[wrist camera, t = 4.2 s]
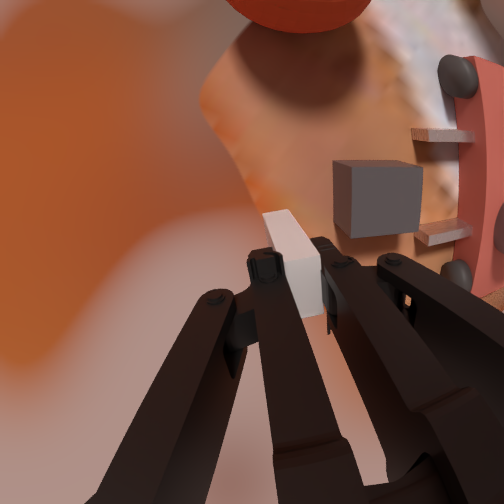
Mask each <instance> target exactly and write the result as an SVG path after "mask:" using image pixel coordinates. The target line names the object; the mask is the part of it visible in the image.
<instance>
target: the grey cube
mask: <svg viewBox="0 0 504 504" xmlns="http://www.w3.org/2000/svg"><path fill="white" fill-rule="evenodd" d="M422 185H423V167H419V166H416V165H412V164H409V163H405V162H401V161H397V160H336V161H333V208H334V215H333V222H334V223H336V224H337V225H338V226H339V227H340V228H341V229H342V230H343V231H344V232H345V233H346V234H347V235H348V236H349V238H350V239H353V238H362V237H372V236H382V235H391V234H401V233H411V232H418V231H419V222H420V212H421V200H422Z"/></svg>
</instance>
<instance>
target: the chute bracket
mask: <svg viewBox="0 0 504 504" xmlns="http://www.w3.org/2000/svg"><path fill="white" fill-rule="evenodd" d="M411 130H412V139H413V140H420V141H427V142H474V143H475V132H473V131H466V130H458V129H437V128H411ZM472 228H473V226H472V225H470V224H468V223H466V222H464V221H463V220H461V219H459V218H454V219H449V220H444V221H439V222H433V223H428V224H423V225H419V231H418V232H414V236H415V237H416V238H417V239H419V240H420V241H422V242H423V243H424V244H426V245H427V246H432V245H437V244H441V243H445V242H449V241H453V240H457V239H461V238H465V237H469V236H472Z"/></svg>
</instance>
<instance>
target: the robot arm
mask: <svg viewBox="0 0 504 504" xmlns="http://www.w3.org/2000/svg"><path fill="white" fill-rule="evenodd" d="M263 220H264V226H265V231H266V237H267V243H268V247H267V248H263V249H257V250H252V251H251V252H250V254H249V255H248V259H247V267H248V272H249V276H250V281H251V284H250V286H249V287H248V288H247V289H246V290H244V291H243V292H241V293H238V294H236V295H234V294H233V293H232V291H230V290H228V289H214V290H210V291H208V292H206V293H205V294H203V295H202V296H201V297H200V298H199V300H198V301H197V303H196V305H195V306H194V308H193V310H192V312H191V314H190V315H189V317H188V319H187V321H186V322H185V324H184V326H183V328H182V330H181V332H180V333H179V335H178V337H177V339H176V341H175V343H174V344H173V346H172V348H171V350H170V351H169V353H168V355H167V357H166V359H165V361H164V362H163V364H162V366H161V368H160V370H159V372H158V373H157V375H156V377H155V379H154V381H153V383H152V385H151V387H150V388H149V390H148V392H147V394H146V396H145V398H144V400H143V402H142V403H141V405H140V407H139V409H138V411H137V413H136V415H135V417H134V419H133V421H132V423H131V425H130V426H129V428H128V430H127V432H126V434H125V436H124V438H123V440H122V442H121V444H120V446H119V448H118V450H117V452H116V454H115V456H114V458H113V460H112V462H111V464H110V466H109V468H108V470H107V472H106V474H105V476H104V478H103V480H102V482H101V484H100V486H99V488H98V490H97V492H96V493H95V494H94V495H93V496H92V497H91V498H90V499H89V500H88V501H87V502H86V503H85V504H205V501H206V498H207V494H208V491H209V488H210V484H211V481H212V477H213V474H214V471H215V467H216V464H217V461H218V457H219V454H220V450H221V446H222V443H223V439H224V436H225V432H226V429H227V425H228V422H229V418H230V414H231V411H232V407H233V404H234V400H235V396H236V392H237V389H238V385H239V381H240V378H241V374H242V370H243V366H244V363H245V359H246V355H247V346H249V345H251V344H254V343H256V342H258V341H259V349H260V356H261V363H262V371H263V378H264V385H265V393H266V399H267V408H268V414H269V421H270V429H271V437H272V443H273V466H274V474H275V482H276V489H277V496H278V503H279V504H504V313H502V312H501V311H499V310H498V309H496V308H494V307H493V306H491V305H490V304H488V303H486V302H485V301H483V300H482V299H480V298H478V297H477V296H475V295H473V294H472V293H470V292H468V291H467V290H465V289H463V288H462V287H460V286H458V285H457V284H455V283H453V282H451V281H450V280H448V279H446V278H444V277H443V276H441V275H439V274H437V273H436V272H434V271H432V270H430V269H428V268H427V267H425V266H423V265H421V264H419V263H417V262H415V261H414V260H412V259H410V258H408V257H406V256H404V255H401V254H397V253H387V254H383V255H381V256H379V257H378V259H377V266H361V265H360V263H359V262H358V261H357V260H356V259H354V258H353V257H349V256H343V255H342V254H341V253H340V252H339V250H338V249H337V248H336V247H335V246H334V245H333V243H332V242H331V241H330V240H329V239H327V238H325V237H322V236H321V237H316V238H310V239H309V238H308V236H307V235H306V234H305V232H304V231H303V229H302V228H301V227H300V225H299V224H298V222H297V221H296V220H295V218H294V217H293V215H292V214H291V213H290V211H289V210H288V209H285V210H279V211H274V212H268V213H263ZM406 295H408V296H409V297H411V305H410V306H408V305H406V304H405V299H406ZM323 303H324V304H323ZM324 305H325V307H326V309H327V332H328V335H329V334H330V330H332V331H333V334H334V336H335V338H336V340H337V343H338V344H339V347H340V349H341V352H342V353H343V356H344V358H345V360H346V363H347V365H348V367H349V370H350V372H351V374H352V376H353V379H354V381H355V383H356V386H357V388H358V390H359V393H360V395H361V397H362V400H363V402H364V404H365V407H366V409H367V411H368V414H369V417H370V419H371V421H372V424H373V426H374V429H375V431H376V434H377V436H378V439H379V441H380V444H381V446H382V449H383V451H384V454H385V457H386V472H387V477H388V481H389V483H383V484H376V485H368V486H364V485H363V482H362V479H361V475H360V473H359V469H358V466H357V463H356V460H355V457H354V454H353V451H352V449H351V446H350V444H349V442H348V440H347V439H346V438H344V437H342V435H341V433H340V431H339V427H338V424H337V421H336V418H335V415H334V412H333V409H332V406H331V403H330V401H329V397H328V394H327V392H326V388H325V385H324V382H323V379H322V376H321V373H320V371H319V368H318V365H317V362H316V359H315V356H314V353H313V350H312V348H311V345H310V342H309V339H308V336H307V333H306V330H305V328H304V325H303V322H302V318H307V317H312V316H316V315H320V314H324Z"/></svg>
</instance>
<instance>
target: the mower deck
mask: <svg viewBox="0 0 504 504" xmlns="http://www.w3.org/2000/svg"><path fill="white" fill-rule="evenodd" d="M438 77H439V81H440V84H441V86H442V88H443V90H444V91H445V92H446V93H447V94H448V95H450V96H452V97H454V103H455V111H456V120H457V129H458V130H466V131H473V132H475V143H474V142H458V146H459V203H458V218H459V219H461V220H463V221H464V222H466V223H468V224H470V225H472V226H473V228H472V236H469V237H465V238H461V239H457V240H455V248H454V255H453V261H451V262H447V263H445V264H444V265H443V267H442V269H441V274H440V275H441V276H443V277H444V278H446V279H448V280H450V281H451V282H453V283H455V284H457V285H458V286H460V287H462V288H463V289H465V290H467V291H468V292H470V293H472V294H473V295H475V296H477V297H478V298H481V297H483V296H485V295H487V294H490V293H492V292H494V291H496V290H498V289H500V288H502V287H504V67H503V66H500V65H498V64H495V63H493V62H490V61H487V60H485V59H482V58H479V57H476V56H469V57H463V58H461V57H458V56H454V55H445V56H444V57H443V58H442V59H441V60H440V62H439V66H438Z"/></svg>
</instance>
